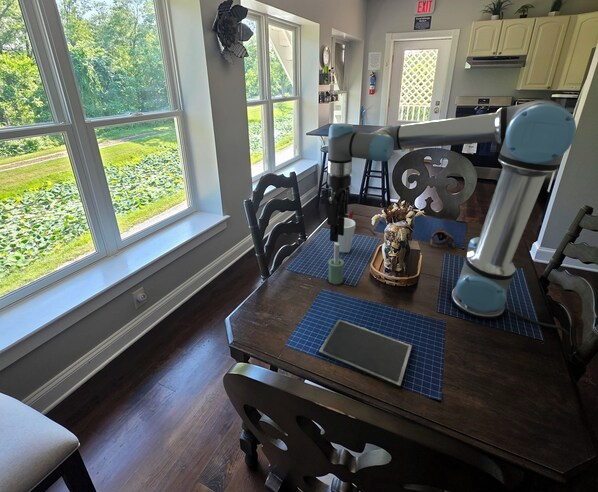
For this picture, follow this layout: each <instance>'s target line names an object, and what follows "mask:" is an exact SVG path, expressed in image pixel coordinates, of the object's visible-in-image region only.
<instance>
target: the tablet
mask: <svg viewBox="0 0 598 492" xmlns="http://www.w3.org/2000/svg"><path fill="white" fill-rule="evenodd" d="M412 349H413V345H412V344H409V343H407V342H403V341H400V340H398V339H395V338H392V337H390V336H387V335H385V334H381V333H378V332H376V331H373V330H370V329H368V328H365V327H362V326H359V325H356V324H354V323H351V322H348V321H345V320H342V319H339V318H338V319H337V321H336V322H335V324H334V326H333V327H332V329H331V331H330V333H329V334H328V335H327V337H326V339H325V340H324V342H323V344H322V345H321V347H320V349H319V350H318V354H319V355H320V356H323V357H325V358H327V359H330V360H332V361H335V362H336V363H337V362H338V363H339V364H342V365H345V366H346V367H349V368H351V369H353V370H356V371H358V372H361V373H362V374H365V375H368V376H370V377H372V378H375V379H377V380H379V381H381V382H383V383H387V384H388V385H391V386H394V387H396V388H397V389H401V386H402V383H403V379H404V377H405V373H406V369H407V366H408V362H409V359H410V355H411V352H412Z"/></svg>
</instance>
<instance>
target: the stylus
mask: <svg viewBox="0 0 598 492" xmlns="http://www.w3.org/2000/svg"><path fill="white" fill-rule="evenodd" d="M339 245H340V244H339V243H335V242H334V243H333V258H334V265H339V259H340V252H339Z"/></svg>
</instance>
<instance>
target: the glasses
mask: <svg viewBox="0 0 598 492" xmlns="http://www.w3.org/2000/svg"><path fill="white" fill-rule="evenodd" d="M354 215H355V216H360V217H366V218H371V219H373V218H372V217H373V216H369V215H364V214H359V213H354V211H351V212H349V214H348V216H347V218H348V219H352V220H353V217H354ZM378 220H379V221H378V222H379V223H380V224H383V222H382V221H381V220H380V219H378ZM356 227H357V228H360V229H361V228H362V229H366V230H369V231H370V232H371V233H372V234H373V235H374V236H375V235H376V233H375V232H374V231H373V230H371V229H370V228H368V227H365V226H361V225H355V228H356Z"/></svg>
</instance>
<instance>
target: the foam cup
mask: <svg viewBox="0 0 598 492" xmlns="http://www.w3.org/2000/svg"><path fill="white" fill-rule="evenodd" d="M355 230H356V221H355V220H353V218H352V219H350V218H349V217H348V218H345V220H344V235H343V236H341V235H338V242H334V244H335V243H339V244H340V245H339V253H344V254H345V253H350V252H351V248H352V244H353V238H354V233H355Z"/></svg>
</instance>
